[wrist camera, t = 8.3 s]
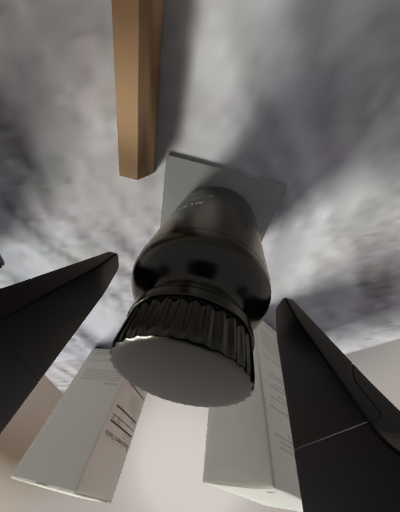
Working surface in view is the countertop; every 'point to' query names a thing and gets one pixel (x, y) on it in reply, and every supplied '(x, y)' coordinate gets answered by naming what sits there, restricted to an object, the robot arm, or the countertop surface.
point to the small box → (255, 436)
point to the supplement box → (86, 434)
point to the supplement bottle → (197, 304)
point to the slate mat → (201, 175)
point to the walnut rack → (137, 82)
